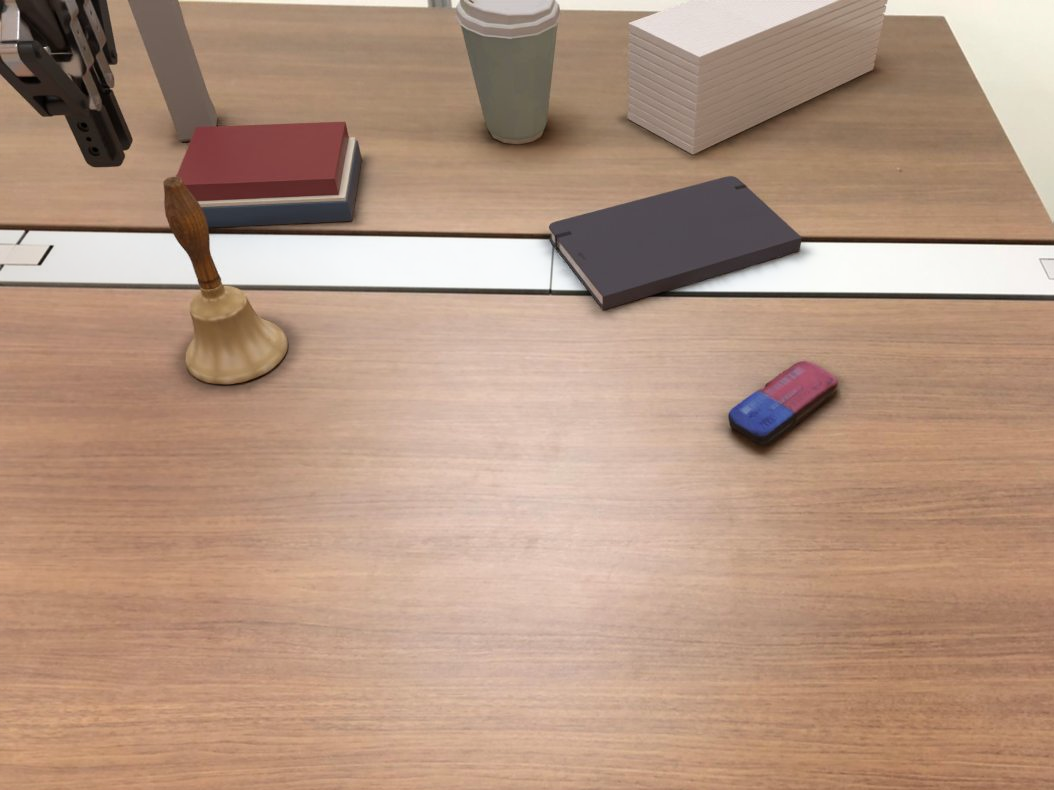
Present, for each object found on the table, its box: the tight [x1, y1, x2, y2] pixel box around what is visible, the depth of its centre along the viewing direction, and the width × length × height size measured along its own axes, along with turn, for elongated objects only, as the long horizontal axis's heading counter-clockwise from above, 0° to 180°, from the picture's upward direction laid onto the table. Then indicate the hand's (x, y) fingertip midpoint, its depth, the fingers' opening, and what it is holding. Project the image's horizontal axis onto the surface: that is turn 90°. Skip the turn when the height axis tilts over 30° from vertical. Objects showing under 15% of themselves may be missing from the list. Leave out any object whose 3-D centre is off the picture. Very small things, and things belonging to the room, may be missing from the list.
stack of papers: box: [627, 0, 888, 155], centre depth 108 cm, size 32×11×11 cm, turn 133°
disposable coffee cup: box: [455, 0, 562, 145], centre depth 99 cm, size 11×11×15 cm
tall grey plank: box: [127, 0, 218, 143], centre depth 94 cm, size 4×5×25 cm
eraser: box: [727, 360, 839, 447], centre depth 75 cm, size 11×4×2 cm, turn 135°
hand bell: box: [162, 176, 289, 385], centre depth 73 cm, size 8×8×16 cm
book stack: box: [175, 121, 363, 229], centre depth 94 cm, size 12×16×4 cm
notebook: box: [548, 175, 803, 311], centre depth 90 cm, size 13×2×21 cm
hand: (111, 155), depth 60 cm, fingers closed
